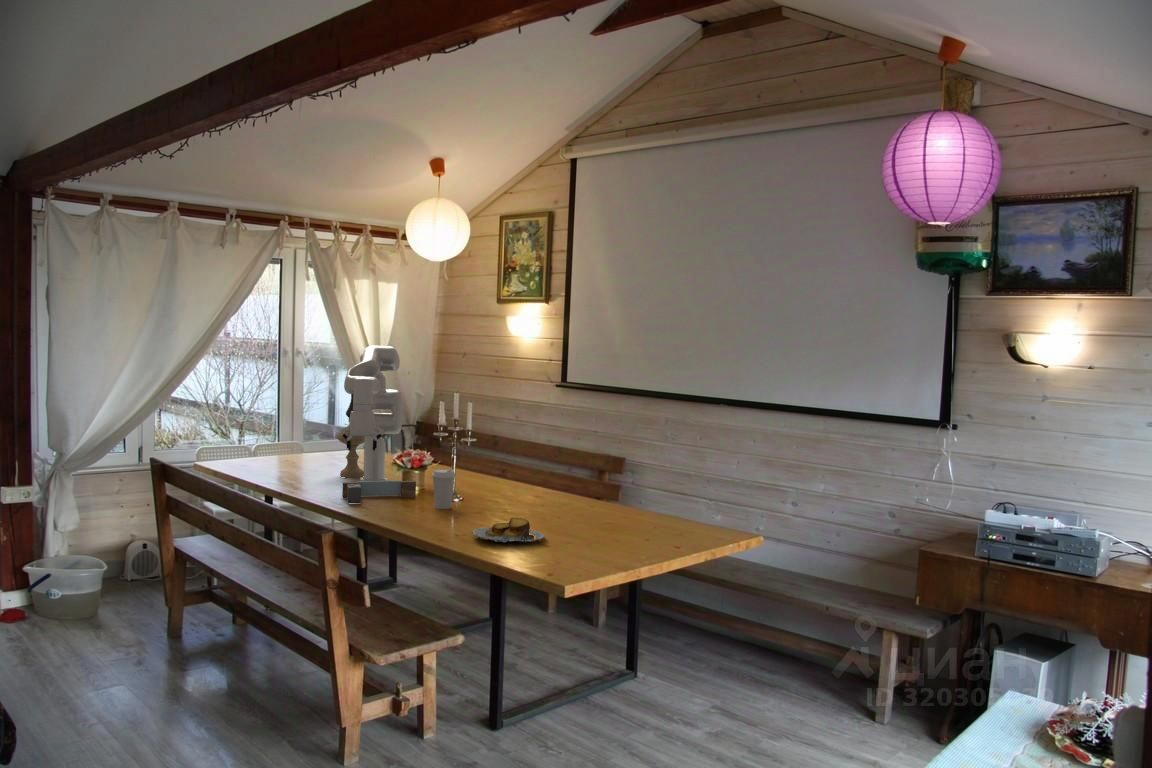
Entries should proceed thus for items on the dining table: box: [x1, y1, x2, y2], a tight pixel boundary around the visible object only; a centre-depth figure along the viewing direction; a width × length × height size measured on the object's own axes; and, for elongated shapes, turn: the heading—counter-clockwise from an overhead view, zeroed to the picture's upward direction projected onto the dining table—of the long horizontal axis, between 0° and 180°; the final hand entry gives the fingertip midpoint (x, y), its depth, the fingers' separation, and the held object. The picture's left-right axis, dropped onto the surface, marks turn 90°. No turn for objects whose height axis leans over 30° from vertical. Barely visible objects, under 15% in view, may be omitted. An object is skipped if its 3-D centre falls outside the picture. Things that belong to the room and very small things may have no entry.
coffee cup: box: [431, 468, 457, 510], centre depth 348 cm, size 10×10×15 cm
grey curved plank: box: [357, 480, 402, 497], centre depth 366 cm, size 2×18×6 cm, turn 108°
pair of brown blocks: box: [341, 480, 417, 498], centre depth 363 cm, size 2×30×6 cm, turn 108°
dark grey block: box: [346, 484, 362, 504], centre depth 351 cm, size 7×5×7 cm
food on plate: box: [471, 517, 546, 543], centre depth 302 cm, size 25×25×7 cm
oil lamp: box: [336, 394, 364, 479], centre depth 407 cm, size 15×15×40 cm
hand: (361, 450), depth 350 cm, fingers open, 9 cm apart
